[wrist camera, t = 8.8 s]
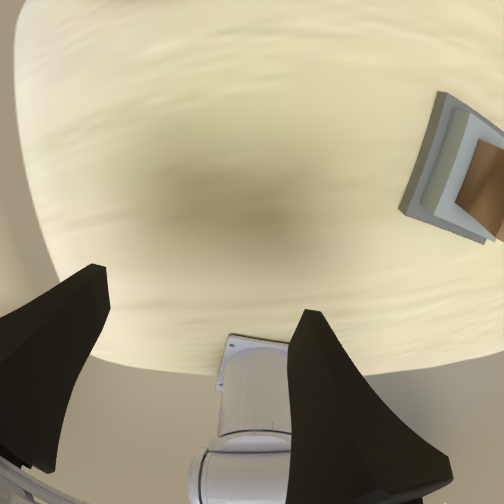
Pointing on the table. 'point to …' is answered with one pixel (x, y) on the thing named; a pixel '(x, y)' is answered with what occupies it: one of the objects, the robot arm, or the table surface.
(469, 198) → the walnut cube
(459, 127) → the slate top slab
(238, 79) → the table surface
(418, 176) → the gray square platform
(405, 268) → the table surface
